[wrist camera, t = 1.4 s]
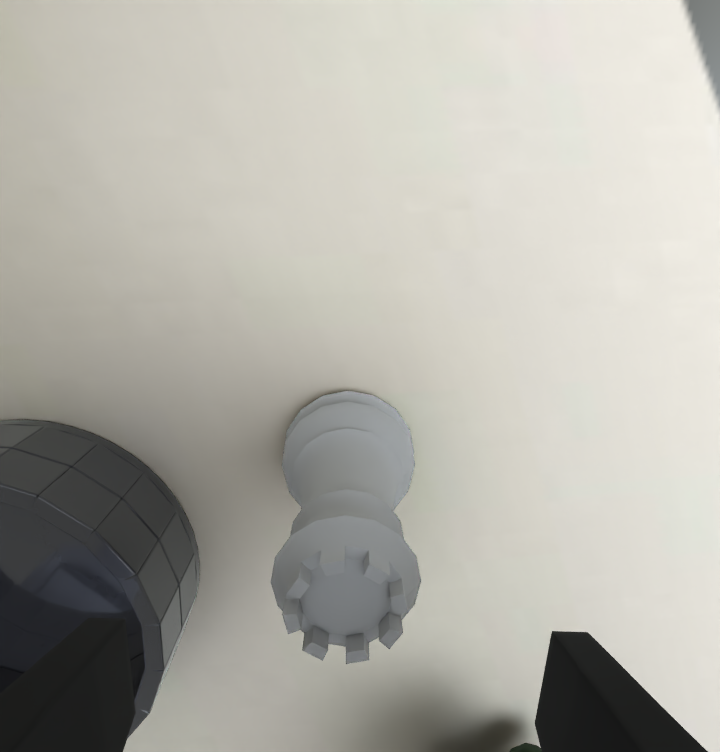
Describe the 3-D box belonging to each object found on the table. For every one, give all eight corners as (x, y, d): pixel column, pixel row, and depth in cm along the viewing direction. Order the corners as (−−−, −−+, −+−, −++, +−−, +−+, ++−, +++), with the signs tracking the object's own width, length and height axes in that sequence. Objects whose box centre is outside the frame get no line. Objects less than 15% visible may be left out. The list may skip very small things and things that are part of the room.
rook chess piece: (414, 385, 17) (462, 515, 10) (410, 502, 19) (450, 699, 11) (282, 386, 17) (224, 517, 10) (288, 503, 19) (241, 701, 11)
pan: (206, 681, 21) (172, 784, 17) (-74, 674, 21) (-173, 777, 17) (193, 425, 18) (148, 481, 14) (-140, 413, 17) (-279, 466, 14)
